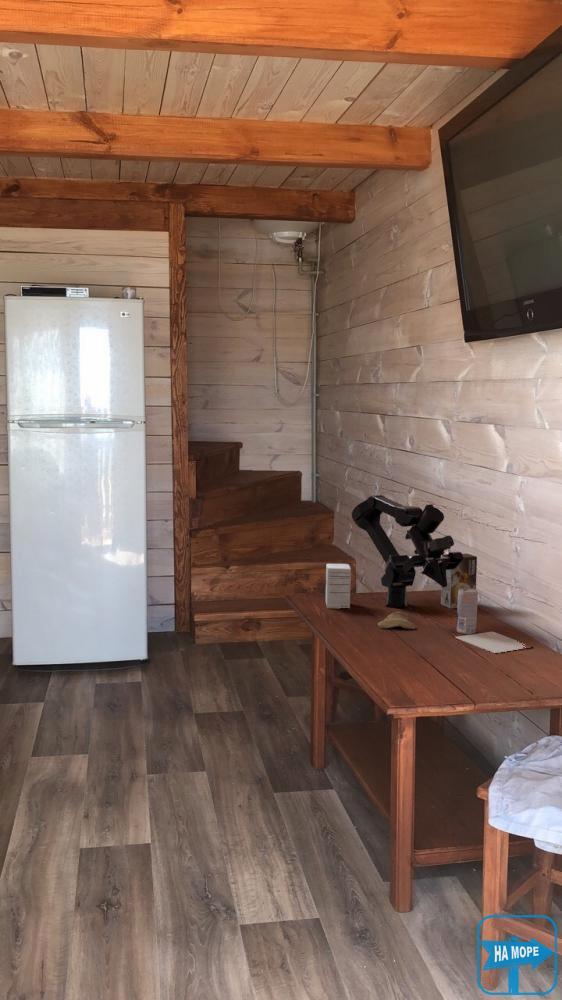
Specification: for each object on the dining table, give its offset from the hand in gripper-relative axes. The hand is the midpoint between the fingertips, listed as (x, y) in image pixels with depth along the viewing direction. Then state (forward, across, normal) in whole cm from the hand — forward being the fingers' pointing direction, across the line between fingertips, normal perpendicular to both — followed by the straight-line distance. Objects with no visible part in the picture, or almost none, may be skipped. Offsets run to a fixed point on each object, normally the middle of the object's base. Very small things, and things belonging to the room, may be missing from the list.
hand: (445, 586), depth 250 cm
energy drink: (+15, 0, +1) cm, 15 cm away
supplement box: (-14, -17, +29) cm, 37 cm away
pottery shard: (+5, -14, +11) cm, 19 cm away
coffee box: (-3, +18, +19) cm, 26 cm away
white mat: (+23, 0, -7) cm, 24 cm away
